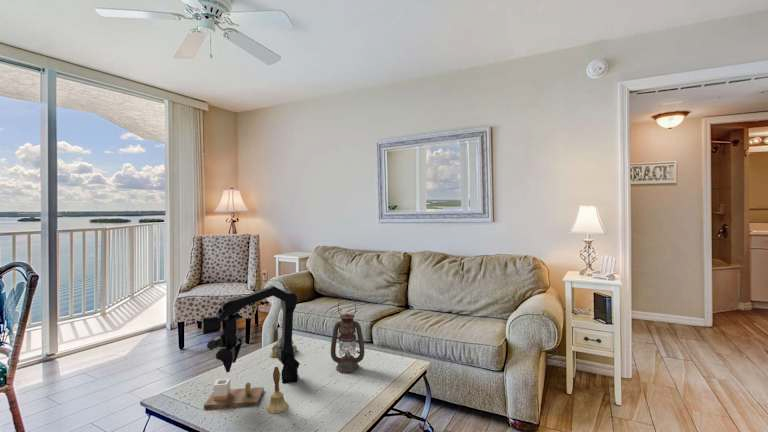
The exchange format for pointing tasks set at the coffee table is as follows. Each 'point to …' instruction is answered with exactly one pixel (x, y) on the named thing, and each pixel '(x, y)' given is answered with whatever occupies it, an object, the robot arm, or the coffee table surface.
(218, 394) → the sleeve
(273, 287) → the robot arm
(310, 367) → the coffee table surface
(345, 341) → the lantern
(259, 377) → the coffee table surface
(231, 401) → the pin board
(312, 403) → the coffee table surface
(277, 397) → the hand bell
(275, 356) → the ceramic model
